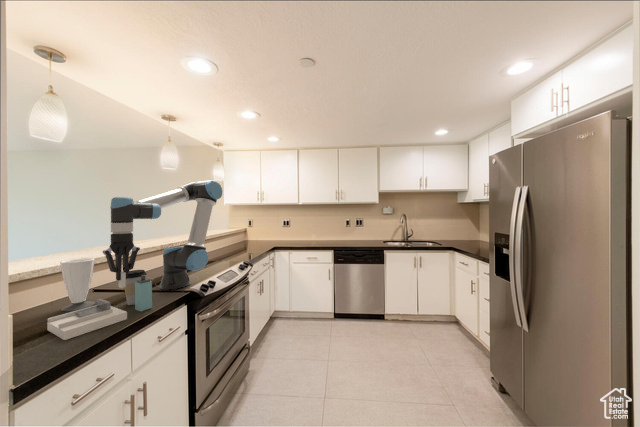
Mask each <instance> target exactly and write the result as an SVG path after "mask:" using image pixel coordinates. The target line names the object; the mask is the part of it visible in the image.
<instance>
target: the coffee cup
mask: <svg viewBox="0 0 640 427" xmlns="http://www.w3.org/2000/svg"><path fill="white" fill-rule="evenodd" d="M141 275H145V276H147V272H146V271H145V269H135V270H134V269H131V270H129V272H128V279H126V287H124V288H123V289H124V294H125V299H126V305H127V306H135V283H136V282H137V280H140V279H141Z"/></svg>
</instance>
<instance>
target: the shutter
mask: <svg viewBox="0 0 640 427" xmlns="http://www.w3.org/2000/svg"><path fill="white" fill-rule="evenodd" d="M96 305H97V307H94V308H90V309H87V310H83V311H79V312H76V315H78V316H80V317H85V316H89V315H92V314H95V313H99V312H102V311H106V310H109V309H111V306H112V305H111V301H108V300H106V299H104V298H98V299H96Z"/></svg>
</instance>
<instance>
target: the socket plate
mask: <svg viewBox="0 0 640 427" xmlns="http://www.w3.org/2000/svg"><path fill="white" fill-rule="evenodd" d="M94 307H97V304H95V305H93V306H90V307H87V308H84V309H80V310H75V311H69V312H66V313H63V314H59V315H55V316H51V317H49V318H47V322H46V324H47V328H46V329H47V331H48V332H50V333H51V334H53V335H55V336H57V337H58V338H60V339H61V340H63V341H67V340H69V339H71V338H75V337H78V336H82V335H84V334H87V333H90V332H93V331H96V330H99V329H101V328H105V327H107V326H111V325H113V324H117V323H119V322H122V321H126V320H128V312H127V311H126V310H123V309H122V308H121V309H120V308H117V307H114V306H113V305H111V309H109V310H106V311H102V312H99V313H95V314H92V315H89V316H85V317H80V316H78V315H76V312H79V311H83V310H87V309H90V308H94Z"/></svg>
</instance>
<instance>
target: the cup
mask: <svg viewBox="0 0 640 427" xmlns="http://www.w3.org/2000/svg"><path fill="white" fill-rule="evenodd" d="M95 260H96V259H95V258H94V257H81V258H72V259H71V258H70V259H65V260H62V261H60V264H59V265H60V270H61V274H62V280H63V283H64V286H65V290H66V293H67V296H68V298H69V301H70V302H71V304H68V305H66V306H63V307H62V308H61V309H60V311H61V312H73V311H77V310H81V309H85V308H88V307H92V306H95V305H96V301H92V300H91V301H90V300H89V301H86V300H87V297H88V296H89V294H88V293H89V291H90V288H91V283H92V277H93V274H94V266H95Z"/></svg>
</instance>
